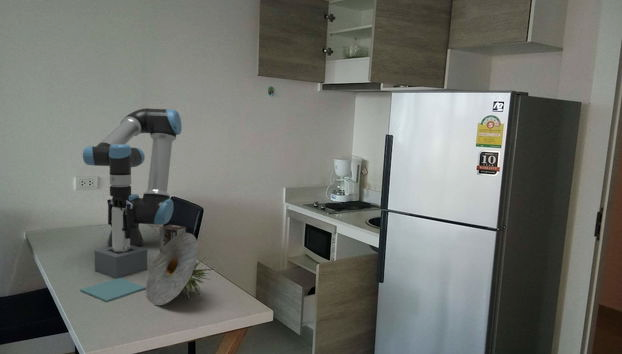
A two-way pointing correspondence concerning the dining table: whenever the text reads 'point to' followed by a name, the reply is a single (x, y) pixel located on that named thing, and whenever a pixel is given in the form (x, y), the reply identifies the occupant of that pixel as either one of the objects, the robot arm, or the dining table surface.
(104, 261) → the grey hollow square block
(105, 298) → the teal mat
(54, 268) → the dining table surface
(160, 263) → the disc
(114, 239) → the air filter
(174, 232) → the coffee box
